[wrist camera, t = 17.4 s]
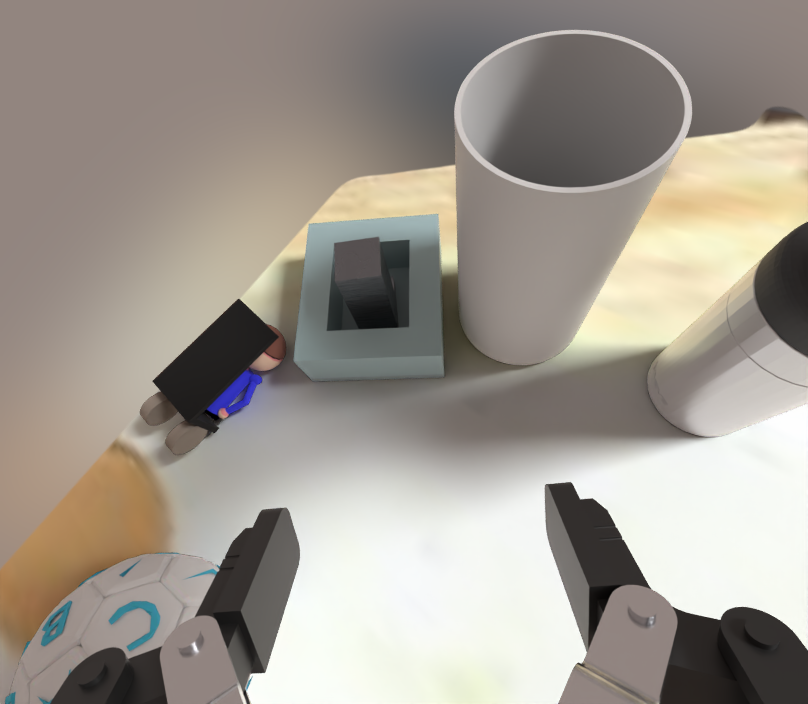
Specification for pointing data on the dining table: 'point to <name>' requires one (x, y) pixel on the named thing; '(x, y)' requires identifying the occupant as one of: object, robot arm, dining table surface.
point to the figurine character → (213, 376)
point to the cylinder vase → (555, 180)
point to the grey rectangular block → (366, 283)
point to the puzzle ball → (112, 619)
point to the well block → (415, 293)
